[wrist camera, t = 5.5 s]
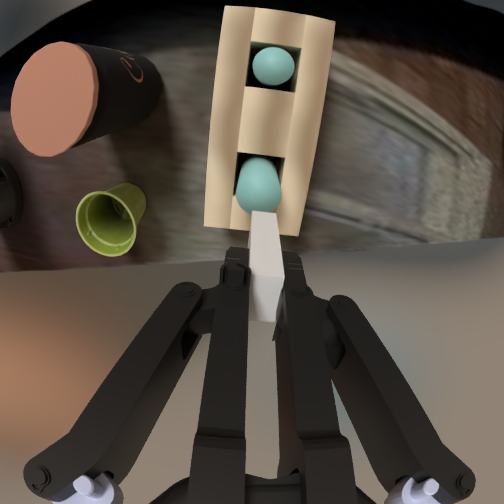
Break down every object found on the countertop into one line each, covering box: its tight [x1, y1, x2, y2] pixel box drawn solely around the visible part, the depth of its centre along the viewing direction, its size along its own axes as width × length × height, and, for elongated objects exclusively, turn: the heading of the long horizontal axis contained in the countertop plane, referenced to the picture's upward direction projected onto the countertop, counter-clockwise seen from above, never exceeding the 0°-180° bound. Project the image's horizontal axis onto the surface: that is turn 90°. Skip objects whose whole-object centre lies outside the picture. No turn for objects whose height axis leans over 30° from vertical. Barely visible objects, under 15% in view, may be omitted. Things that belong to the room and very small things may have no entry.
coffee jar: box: [11, 42, 161, 157], centre depth 24 cm, size 11×11×18 cm
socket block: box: [204, 6, 335, 236], centre depth 30 cm, size 11×25×9 cm, turn 173°
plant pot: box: [76, 183, 146, 257], centre depth 37 cm, size 9×9×9 cm
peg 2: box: [236, 154, 282, 215], centre depth 28 cm, size 4×4×8 cm
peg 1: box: [253, 47, 294, 87], centre depth 26 cm, size 4×4×8 cm
